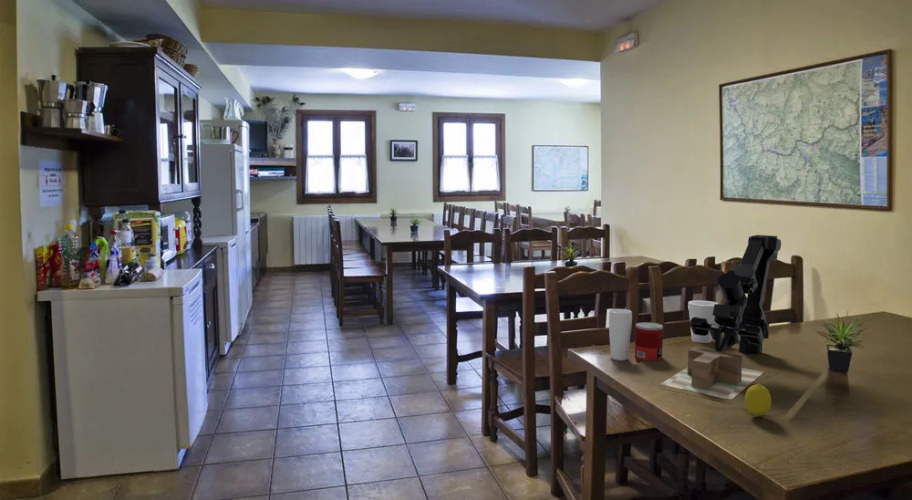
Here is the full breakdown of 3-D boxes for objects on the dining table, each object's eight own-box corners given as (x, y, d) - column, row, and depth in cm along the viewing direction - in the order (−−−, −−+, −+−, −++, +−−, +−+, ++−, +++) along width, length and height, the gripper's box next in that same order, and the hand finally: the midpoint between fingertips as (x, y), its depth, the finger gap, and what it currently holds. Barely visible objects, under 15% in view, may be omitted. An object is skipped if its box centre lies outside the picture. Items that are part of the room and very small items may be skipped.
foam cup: (686, 336, 220) (687, 299, 219) (714, 337, 218) (716, 301, 216) (688, 343, 211) (690, 305, 210) (717, 345, 209) (719, 306, 207)
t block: (692, 371, 177) (693, 346, 176) (741, 380, 169) (742, 355, 168) (674, 382, 167) (675, 357, 166) (724, 393, 159) (726, 366, 158)
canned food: (663, 364, 187) (664, 328, 186) (635, 363, 189) (636, 327, 187) (660, 357, 195) (661, 322, 193) (633, 356, 196) (634, 321, 195)
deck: (699, 363, 188) (699, 359, 188) (763, 376, 176) (764, 371, 176) (659, 388, 166) (660, 384, 166) (730, 404, 155) (730, 399, 154)
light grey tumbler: (631, 356, 195) (632, 309, 194) (629, 362, 189) (631, 314, 187) (608, 354, 198) (610, 308, 196) (606, 360, 191) (608, 312, 189)
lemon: (739, 412, 149) (741, 380, 148) (761, 412, 150) (763, 379, 149) (752, 421, 144) (754, 388, 143) (775, 421, 144) (777, 387, 143)
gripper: (693, 289, 181) (676, 333, 173) (763, 297, 168) (748, 345, 161) (701, 311, 187) (686, 355, 180) (769, 321, 175) (755, 368, 168)
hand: (717, 355), depth 172 cm, fingers closed
